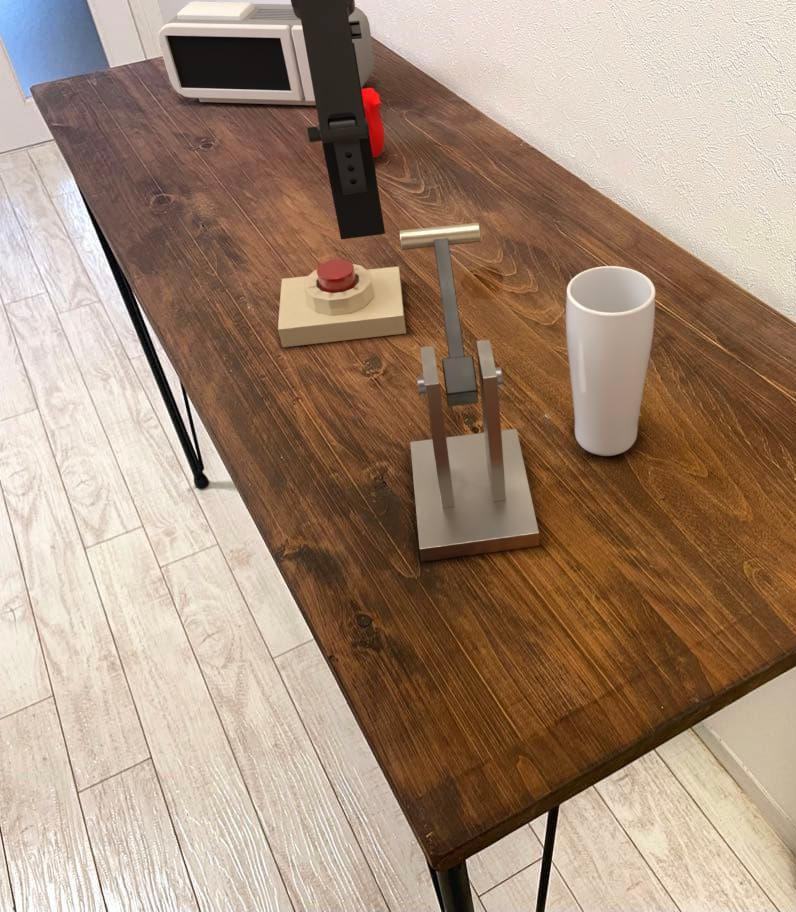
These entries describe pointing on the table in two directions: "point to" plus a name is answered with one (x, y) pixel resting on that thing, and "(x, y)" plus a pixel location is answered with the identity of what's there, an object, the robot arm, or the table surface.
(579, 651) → the table surface
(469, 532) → the bracket
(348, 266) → the button
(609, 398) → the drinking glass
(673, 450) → the table surface
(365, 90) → the flower
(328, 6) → the robot arm
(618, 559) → the table surface
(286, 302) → the button block
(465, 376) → the lever
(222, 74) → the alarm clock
